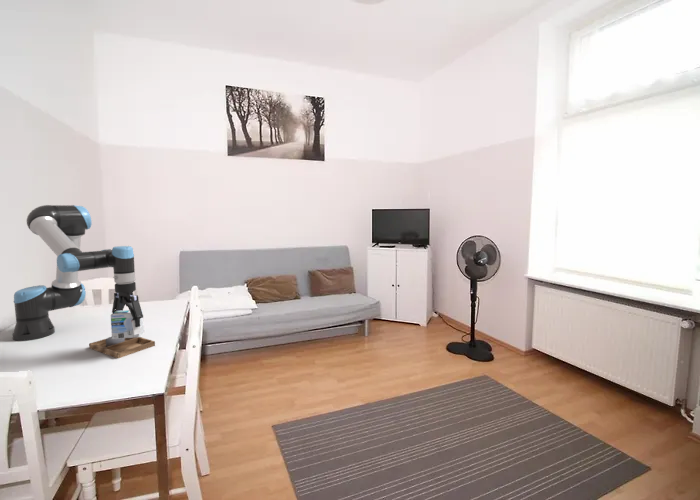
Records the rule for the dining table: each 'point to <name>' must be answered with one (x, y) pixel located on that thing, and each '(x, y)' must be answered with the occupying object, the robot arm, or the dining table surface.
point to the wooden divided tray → (122, 346)
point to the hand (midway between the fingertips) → (128, 331)
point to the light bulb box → (124, 325)
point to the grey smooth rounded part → (113, 341)
